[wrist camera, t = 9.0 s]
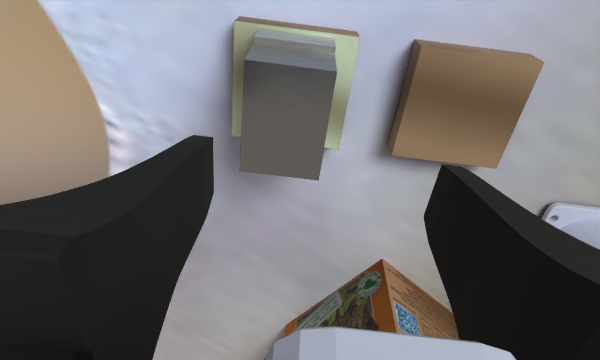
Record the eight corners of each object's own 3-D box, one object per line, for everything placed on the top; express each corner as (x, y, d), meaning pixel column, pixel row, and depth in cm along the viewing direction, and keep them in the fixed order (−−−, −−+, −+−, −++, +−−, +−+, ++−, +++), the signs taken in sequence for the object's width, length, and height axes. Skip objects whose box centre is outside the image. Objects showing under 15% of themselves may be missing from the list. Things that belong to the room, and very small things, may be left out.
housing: (317, 142, 21) (317, 185, 18) (253, 134, 21) (239, 176, 18) (334, 38, 18) (338, 63, 15) (259, 27, 18) (244, 51, 15)
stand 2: (486, 155, 23) (496, 168, 22) (387, 143, 23) (391, 155, 22) (529, 54, 20) (544, 62, 19) (415, 39, 20) (421, 46, 18)
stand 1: (337, 137, 23) (338, 149, 22) (236, 125, 23) (231, 136, 21) (357, 31, 20) (359, 38, 18) (239, 16, 20) (234, 21, 18)
